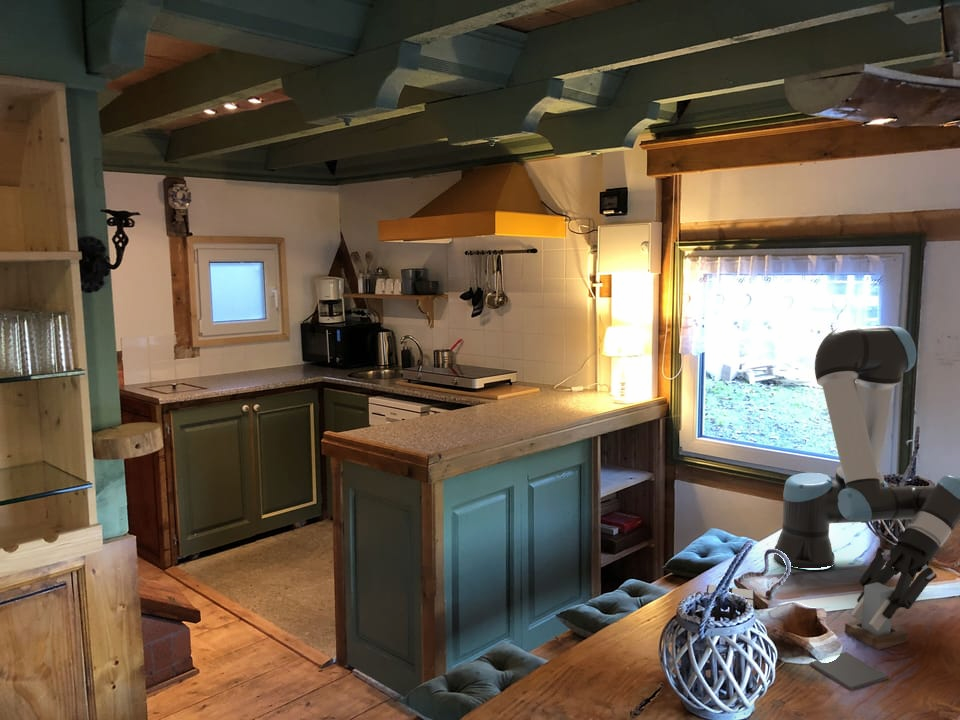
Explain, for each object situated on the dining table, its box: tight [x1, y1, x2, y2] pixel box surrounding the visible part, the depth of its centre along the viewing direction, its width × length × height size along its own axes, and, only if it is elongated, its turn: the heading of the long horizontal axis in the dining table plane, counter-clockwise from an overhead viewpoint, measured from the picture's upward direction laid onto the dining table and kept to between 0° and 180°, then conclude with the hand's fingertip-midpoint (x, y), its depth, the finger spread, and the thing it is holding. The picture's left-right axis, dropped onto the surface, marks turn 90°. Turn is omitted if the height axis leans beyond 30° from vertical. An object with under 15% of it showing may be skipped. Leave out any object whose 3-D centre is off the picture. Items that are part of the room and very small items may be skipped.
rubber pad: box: [809, 651, 889, 691], centre depth 156 cm, size 10×10×1 cm
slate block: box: [862, 582, 895, 636], centre depth 169 cm, size 4×4×11 cm
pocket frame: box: [844, 619, 909, 651], centre depth 169 cm, size 9×9×2 cm
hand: (864, 622), depth 168 cm, fingers closed on slate block, 4 cm apart
